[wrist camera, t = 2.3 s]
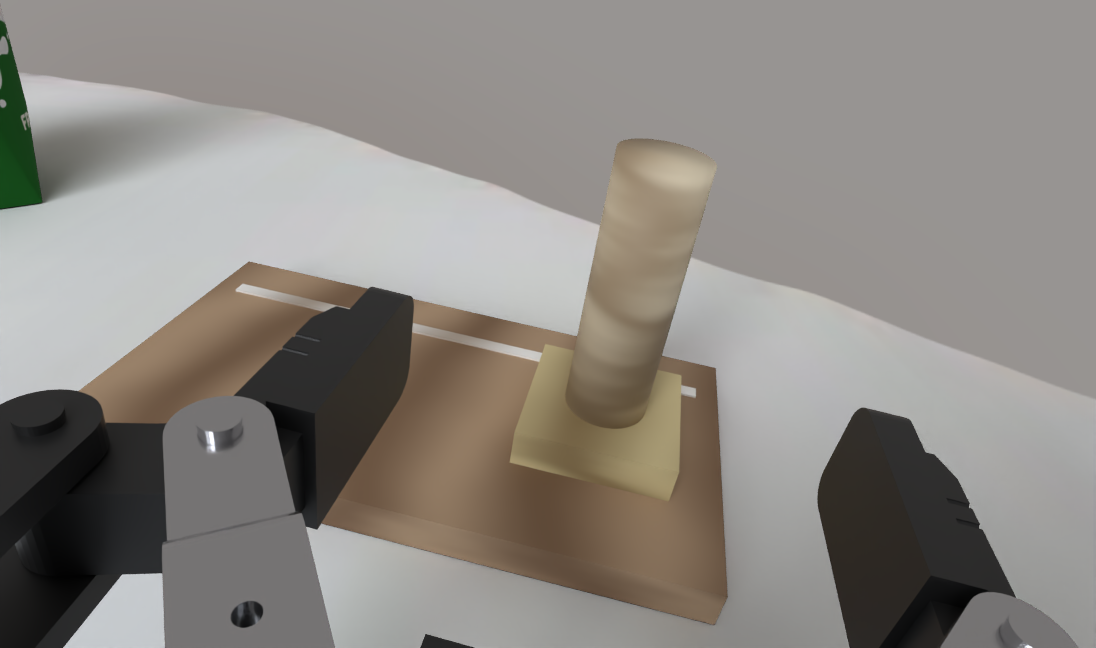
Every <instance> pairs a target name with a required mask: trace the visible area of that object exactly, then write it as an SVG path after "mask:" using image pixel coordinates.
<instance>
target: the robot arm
mask: <svg viewBox="0 0 1096 648" xmlns="http://www.w3.org/2000/svg"><path fill="white" fill-rule="evenodd" d="M413 314H414V302H413V298H412V297H411V296H408V295H404V294H400V293H396V292H392V291H388V290H383V289H379V288H375V287H370V288H369V289H368V290H367V291H366V292H365V293H364V294H363V295H362V296H361V297H360V298H359V299H358V300H357V302H356V303H355V304H354V305H353V306H352V307H351V308H350V309H347V308H343V307H339V306H335V307H333V308H331V309H329V310H327V311H324V312H322V313H320V314H318V315H315V316H313V317H311V318H310V319H309V320H308V321H307V322H306V323H305V324H304V325H303V326H302V327H301V328H300V329H299V330H298V331H297V332H296V335H295V337H293V336H292V337H291V338H290V339H289V340H288V341H287V342H286V343H285V344H284V345H283V346H282V350H278V351H277V352H276V353H275V354H274V355H273V356H272V357H271V358H270V359H269V360H268V361H267V362H266V363H265V364H264V365H263V366H262V367H261V368H260V369H259V370H258V371H257V372H256V373H255V374H254V375H253V376H252V377H251V378H250V379H249V380H248V381H247V382H246V384H245V385H244V386H243V387H242V388H241V389H240V390H239V391H238V392H237V393H236V394H235V395H234V396H218V397H212V398H207V399H203V400H200V401H197V402H195V403H192V404H190V405H188V406H186V407H184V408H182V409H181V410H179V411H178V412H177V413H175V414H174V415H173V416H172V417H171V418H170V419H169V421H168V422H167V423H105V418H104V414H103V410H102V407H101V404H100V403H99V402H98V401H97V400H96V399H95V398H94V397H92V396H90V395H88V394H86V393H82V392H79V391H73V390H46V391H39V392H34V393H30V394H26V395H23V396H19V397H16V398H14V399H11V400H9V401H6V402H5V403H3V404H1V405H0V648H63V647H64V646H65V645H66V643H67V642H68V641H69V640H70V638H71V637H72V636H73V635H74V633H75V632H76V631H77V630H78V628H79V627H80V626H81V625H82V624H83V622H84V621H85V620H86V619H87V617H88V616H89V615H90V614H91V612H92V611H93V610H94V609H95V607H96V606H97V605H98V604H99V602H100V601H101V600H102V599H103V597H104V596H105V595H106V594H107V593H108V591H109V590H110V589H111V588H112V586H113V585H114V584H115V583H116V581H117V580H118V579H119V578H120V576H121V575H122V574H151V573H163V601H164V630H165V648H335V646H334V642H333V637H332V633H331V629H330V625H329V621H328V617H327V613H326V609H325V604H324V600H323V596H322V592H321V588H320V584H319V580H318V575H317V571H316V567H315V563H314V559H313V555H312V551H311V546H310V542H309V538H308V534H307V530H306V527H310V528H313V529H318V528H319V526H320V524H321V523H322V521H323V520H324V518H325V516H326V515H327V513H328V512H329V510H330V509H331V507H332V505H333V504H334V502H335V501H336V499H337V497H338V496H339V494H340V493H341V491H342V490H343V488H344V486H345V485H346V483H347V482H348V480H349V478H350V477H351V475H352V474H353V472H354V470H355V469H356V467H357V466H358V464H359V463H360V461H361V459H362V458H363V456H364V455H365V453H366V451H367V450H368V448H369V447H370V445H371V444H372V442H373V440H374V439H375V437H376V436H377V434H378V432H379V431H380V429H381V428H382V426H383V424H384V423H385V421H386V420H387V418H388V417H389V415H390V413H391V412H392V410H393V409H394V407H395V405H396V404H397V402H398V401H399V399H400V397H401V395H402V393H403V390H404V388H405V385H406V382H407V378H408V373H409V367H410V355H411V341H412V327H413ZM969 504H970V503H969V501H968V499H967V497H966V495H965V493H964V491H963V489H962V487H961V485H960V483H959V481H958V479H957V478H956V477H955V476H954V475H953V474H952V473H951V472H950V471H949V470H948V469H947V467H946V466H945V465H944V464H943V463H942V462H941V461H940V460H939V459H938V458H937V457H936V456H935V455H934V454H930V453H926V452H925V450H924V448H923V446H922V444H921V442H920V440H919V437H918V435H917V433H916V431H915V429H914V426H913V424H912V423H911V421H910V420H909V419H907V418H904V417H900V416H896V415H892V414H888V413H884V412H880V411H876V410H871V409H867V408H860V409H858V410H857V411H856V412H855V413H854V415H853V416H852V418H851V420H850V422H849V424H848V426H847V428H846V429H845V431H844V433H843V435H842V437H841V439H840V441H839V443H838V445H837V447H836V449H835V450H834V452H833V454H832V456H831V458H830V460H829V462H828V464H827V466H826V468H825V470H824V472H823V474H822V477H821V480H820V484H819V489H818V509H819V513H820V518H821V522H822V526H823V531H824V535H825V540H826V544H827V549H828V553H829V558H830V562H831V566H832V571H833V575H834V580H835V584H836V589H837V593H838V598H839V602H840V606H841V611H842V615H843V620H844V624H845V629H846V633H847V638H848V642H849V646H850V648H1078V647H1077V645H1076V644H1075V642H1074V641H1073V640H1072V639H1071V638H1070V636H1069V635H1068V634H1067V633H1066V632H1065V631H1064V630H1063V629H1062V628H1061V627H1060V626H1059V625H1058V624H1057V623H1055V622H1054V621H1053V620H1052V619H1051V618H1049V617H1048V616H1047V615H1045V614H1044V613H1043V612H1041V611H1040V610H1038V609H1036V608H1035V607H1033V606H1032V605H1030V604H1028V603H1026V602H1024V601H1022V600H1020V599H1017V598H1016V597H1015V595H1014V592H1013V590H1012V588H1011V586H1010V584H1009V582H1008V580H1007V578H1006V576H1005V574H1004V572H1003V570H1002V568H1001V566H1000V564H999V562H998V560H997V558H996V556H995V554H994V552H993V550H992V548H991V546H990V544H989V542H988V540H987V538H986V536H985V534H984V532H983V530H982V529H979V525H980V524H979V522H978V520H977V518H976V516H975V514H974V512H973V510H972V509H971V508H969ZM421 648H474V647H470V646H466V645H463V644H459V643H456V642H452V641H449V640H445V639H442V638H438V637H434V636H431V635H427V634H425V637H424V640H423V642H422V645H421Z"/></svg>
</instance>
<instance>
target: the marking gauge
mask: <svg viewBox="0 0 1096 648" xmlns="http://www.w3.org/2000/svg"><path fill="white" fill-rule="evenodd" d="M716 169H717V164H716V163H715V161H714V160H713V159H712V158H710V157H709V156H707V155H705V154H704V153H702V152H699V151H697V150H695V149H692V148H689V147H686V146H683V145H680V144H676V143H671V142H667V141H661V140H654V139H628V140H624V141H621V142H619V143H618V144H617V148H616V152H615V157H614V162H613V167H612V171H611V177H610V181H609V186H608V191H607V196H606V200H605V205H604V210H603V215H602V220H601V224H600V229H599V234H598V239H597V244H596V249H595V253H594V258H593V263H592V268H591V273H590V277H589V282H588V287H587V292H586V297H585V302H584V306H583V311H582V316H581V321H580V326H579V331H578V335H577V340H576V345H575V350H569V349H565V348H561V347H556V346H552V345H548V344H545V347H544V350H543V352H542V355H541V358H540V361H539V364H538V367H537V370H536V372H535V375H534V378H533V381H532V384H531V387H530V389H529V392H528V395H527V398H526V401H525V404H524V407H523V409H522V412H521V415H520V418H519V421H518V424H517V427H516V429H515V432H514V439H513V445H512V451H511V457H510V463H514V464H518V465H522V466H526V467H530V468H534V469H538V470H542V471H546V472H550V473H555V474H559V475H563V476H567V477H571V478H575V479H579V480H583V481H587V482H591V483H595V484H599V485H603V486H608V487H612V488H616V489H620V490H624V491H628V492H632V493H636V494H640V495H644V496H648V497H652V498H656V499H660V500H665V501H669V500H670V497H671V494H672V491H673V488H674V485H675V482H676V480H677V477H678V474H679V458H680V417H681V375H678V374H673V373H669V372H665V371H660V370H658V366H659V363H660V360H661V356H662V353H663V349H664V346H665V343H666V339H667V336H668V332H669V329H670V326H671V322H672V319H673V315H674V312H675V309H676V305H677V302H678V298H679V295H680V292H681V288H682V285H683V281H684V278H685V275H686V271H687V268H688V264H689V261H690V258H691V254H692V251H693V247H694V244H695V240H696V237H697V233H698V230H699V227H700V223H701V220H702V217H703V213H704V210H705V206H706V203H707V200H708V196H709V193H710V189H711V186H712V183H713V179H714V176H715V172H716Z"/></svg>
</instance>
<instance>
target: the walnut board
mask: <svg viewBox="0 0 1096 648" xmlns="http://www.w3.org/2000/svg"><path fill="white" fill-rule="evenodd" d="M367 290H368V289H367V288H362V287H358V286H354V285H349V284H345V283H340V282H336V281H332V280H327V279H323V278H319V277H314V276H310V275H305V274H301V273H297V272H292V271H288V270H284V269H279V268H275V267H270V266H266V265H262V264H257V263H253V262H248V263H247V264H245V265H244V266H243V267H241V268H240V269H239V270H237V271H236V272H235V273H233V274H232V275H231V276H229V277H228V278H227V279H225V280H224V281H223V282H221V283H220V284H219V285H218V286H216V287H215V288H214V289H212V290H211V291H210V292H208V293H207V294H206V295H204V296H203V297H202V298H200V299H199V300H198V301H196V302H195V303H194V304H193V305H191V306H190V307H189V308H187V309H186V310H185V311H183V312H182V313H181V314H179V315H178V316H177V317H175V318H174V319H173V320H171V321H170V322H169V323H168V324H166V325H165V326H164V327H162V328H161V329H160V330H158V331H157V332H156V333H154V334H153V335H152V336H150V337H149V338H148V339H146V340H145V341H144V342H143V343H141V344H140V345H139V346H137V347H136V348H135V349H133V350H132V351H131V352H129V353H128V354H127V355H125V356H124V357H123V358H121V359H120V360H119V361H118V362H116V363H115V364H114V365H112V366H111V367H110V368H108V369H107V370H106V371H104V372H103V373H102V374H100V375H99V376H98V377H96V378H95V379H94V380H93V381H91V382H90V383H89V384H87V385H86V386H85V387H83V388H82V389H81V390H79V392H82V393H86V394H88V395H90V396H92V397H94V398H95V399H96V400H97V401H98V402H99V403H100V404H101V407H102V410H103V414H104V418H105V423H167V422H168V421H169V419H170V418H171V417H172V416H173V415H174V414H175V413H177V412H178V411H179V410H181V409H182V408H184V407H186V406H188V405H190V404H192V403H195V402H197V401H200V400H203V399H207V398H212V397H218V396H234V395H235V394H236V393H237V392H238V391H239V390H240V389H241V388H242V387H243V386H244V385H245V384H246V382H247V381H248V380H249V379H250V378H251V377H252V376H253V375H254V374H255V373H256V372H257V371H258V370H259V369H260V368H261V367H262V366H263V365H264V364H265V363H266V362H267V361H268V360H269V359H270V358H271V357H272V356H273V355H274V354H275V353H276V352H277V351H278V350H282V346H283V345H284V344H285V343H286V342H287V341H288V340H289V339H290V338H291V337H292V336H293V337H295V335H296V332H297V331H298V330H299V329H300V328H301V327H302V326H303V325H304V324H305V323H306V322H307V321H308V320H309V319H310V318H311V317H313V316H315V315H318V314H320V313H322V312H324V311H327V310H329V309H331V308H333V307H335V306H339V307H343V308H347V309H350V308H351V307H352V306H353V305H354V304H355V303H356V302H357V300H358V299H359V298H360V297H361V296H362V295H363V294H364V293H365V292H366V291H367ZM413 302H414V314H413V327H412V341H411V355H410V367H409V373H408V378H407V382H406V385H405V388H404V390H403V393H402V395H401V397H400V399H399V401H398V402H397V404H396V405H395V407H394V409H393V410H392V412H391V413H390V415H389V417H388V418H387V420H386V421H385V423H384V424H383V426H382V428H381V429H380V431H379V432H378V434H377V436H376V437H375V439H374V440H373V442H372V444H371V445H370V447H369V448H368V450H367V451H366V453H365V455H364V456H363V458H362V459H361V461H360V463H359V464H358V466H357V467H356V469H355V470H354V472H353V474H352V475H351V477H350V478H349V480H348V482H347V483H346V485H345V486H344V488H343V490H342V491H341V493H340V494H339V496H338V497H337V499H336V501H335V502H334V504H333V505H332V507H331V509H330V510H329V512H328V513H327V515H326V516H325V518H324V520H323V521H322V524H326V525H330V526H334V527H338V528H341V529H345V530H349V531H353V532H357V533H361V534H365V535H368V536H372V537H376V538H380V539H384V540H388V541H392V542H396V543H399V544H403V545H407V546H411V547H415V548H419V549H423V550H426V551H430V552H434V553H438V554H442V555H446V556H450V557H454V558H457V559H461V560H465V561H469V562H473V563H477V564H481V565H485V566H488V567H492V568H496V569H500V570H504V571H508V572H512V573H515V574H519V575H523V576H527V577H531V578H535V579H539V580H543V581H546V582H550V583H554V584H558V585H562V586H566V587H570V588H573V589H577V590H581V591H585V592H589V593H593V594H597V595H601V596H604V597H608V598H612V599H616V600H620V601H624V602H628V603H631V604H635V605H639V606H643V607H647V608H651V609H655V610H659V611H662V612H666V613H670V614H674V615H678V616H682V617H686V618H689V619H693V620H697V621H701V622H705V623H709V624H713V625H715V622H716V620H717V618H718V616H719V614H720V612H721V610H722V608H723V605H724V603H725V601H726V599H727V597H728V596H727V577H726V558H725V539H724V520H723V501H722V482H721V463H720V444H719V424H718V405H717V386H716V368H712V367H708V366H704V365H699V364H695V363H691V362H686V361H682V360H677V359H673V358H669V357H664V356H661V360H660V363H659V366H658V370H660V371H665V372H669V373H673V374H678V375H681V417H680V458H679V474H678V477H677V480H676V482H675V485H674V488H673V491H672V494H671V497H670V500H669V501H665V500H660V499H656V498H652V497H648V496H644V495H640V494H636V493H632V492H628V491H624V490H620V489H616V488H612V487H608V486H603V485H599V484H595V483H591V482H587V481H583V480H579V479H575V478H571V477H567V476H563V475H559V474H555V473H550V472H546V471H542V470H538V469H534V468H530V467H526V466H522V465H518V464H514V463H510V457H511V451H512V445H513V439H514V432H515V429H516V427H517V424H518V421H519V418H520V415H521V412H522V409H523V407H524V404H525V401H526V398H527V395H528V392H529V389H530V387H531V384H532V381H533V378H534V375H535V372H536V370H537V367H538V364H539V361H540V358H541V355H542V352H543V350H544V347H545V344H548V345H552V346H556V347H561V348H565V349H569V350H575V345H576V340H577V336H572V335H568V334H564V333H559V332H555V331H551V330H546V329H542V328H537V327H533V326H529V325H524V324H520V323H516V322H511V321H507V320H502V319H498V318H494V317H489V316H485V315H481V314H476V313H472V312H467V311H463V310H459V309H454V308H450V307H446V306H441V305H437V304H432V303H428V302H424V301H419V300H415V299H413Z"/></svg>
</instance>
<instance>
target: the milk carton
mask: <svg viewBox="0 0 1096 648" xmlns="http://www.w3.org/2000/svg"><path fill="white" fill-rule="evenodd" d="M36 203H42V197H41V191H40V185H39V178H38V172H37V166H36V159H35V153H34V147H33V140H32V134H31V127H30V121H29V115H28V110H27V106H26V101H25V97H24V93H23V89H22V85H21V82H20V78H19V74H18V70H17V67H16V63H15V59H14V55H13V51H12V47H11V44H10V40H9V36H8V32H7V28H6V24H5V21H4V17H3V13H2V9H1V6H0V209H2V208H9V207H16V206H23V205H30V204H36Z"/></svg>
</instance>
